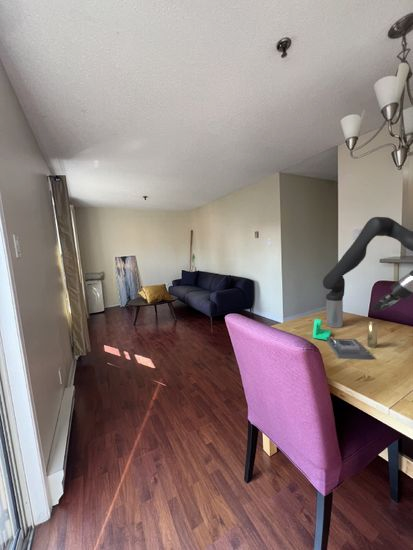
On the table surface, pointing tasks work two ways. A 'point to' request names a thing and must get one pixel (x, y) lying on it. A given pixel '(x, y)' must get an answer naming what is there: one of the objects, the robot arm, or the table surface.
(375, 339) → the brass cylinder peg
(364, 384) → the table surface
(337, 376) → the table surface
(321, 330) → the camera mount
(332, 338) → the dock
